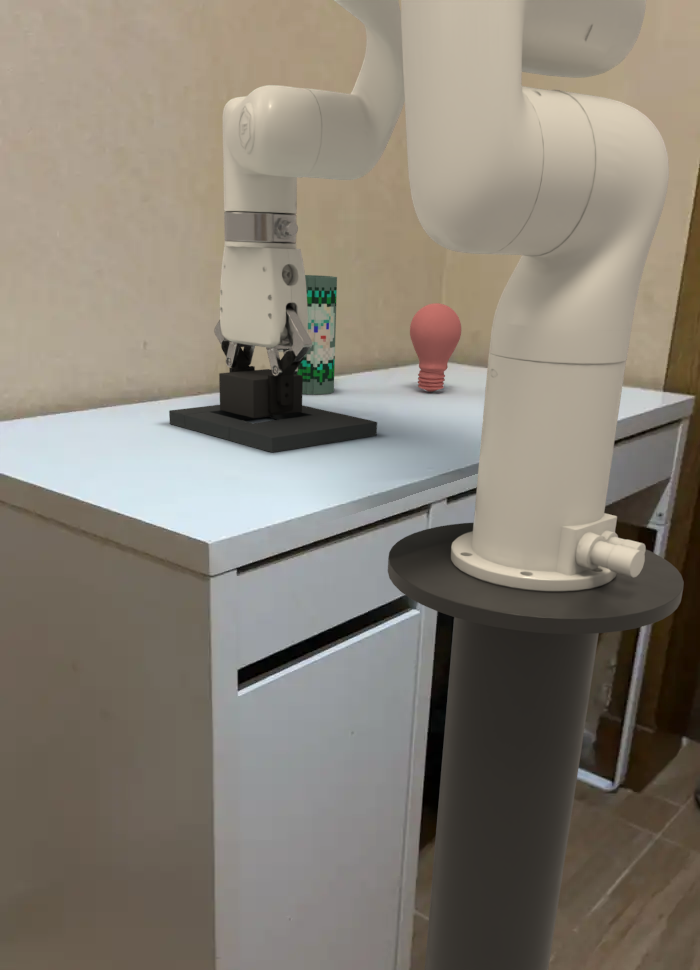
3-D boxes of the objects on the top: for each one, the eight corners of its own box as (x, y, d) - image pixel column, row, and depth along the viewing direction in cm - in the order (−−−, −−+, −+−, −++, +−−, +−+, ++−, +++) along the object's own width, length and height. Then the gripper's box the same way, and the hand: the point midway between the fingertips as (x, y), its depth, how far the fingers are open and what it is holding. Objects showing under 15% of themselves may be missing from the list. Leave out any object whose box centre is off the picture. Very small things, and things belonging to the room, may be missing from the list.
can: (300, 395, 126) (302, 277, 121) (282, 388, 131) (283, 274, 126) (340, 393, 129) (344, 277, 123) (321, 386, 134) (323, 275, 128)
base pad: (376, 435, 103) (377, 421, 103) (272, 452, 93) (272, 437, 93) (272, 410, 115) (272, 398, 114) (169, 423, 105) (168, 410, 104)
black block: (302, 411, 105) (302, 375, 103) (253, 418, 100) (253, 380, 99) (268, 404, 109) (268, 368, 107) (219, 409, 104) (219, 373, 103)
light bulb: (451, 398, 129) (458, 306, 124) (401, 393, 130) (406, 303, 126) (460, 390, 135) (467, 303, 130) (412, 386, 137) (417, 300, 132)
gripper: (343, 235, 94) (338, 415, 101) (238, 232, 106) (240, 394, 113) (287, 233, 89) (285, 422, 96) (182, 230, 101) (188, 399, 108)
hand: (261, 405), depth 104 cm, fingers closed on black block, 6 cm apart
